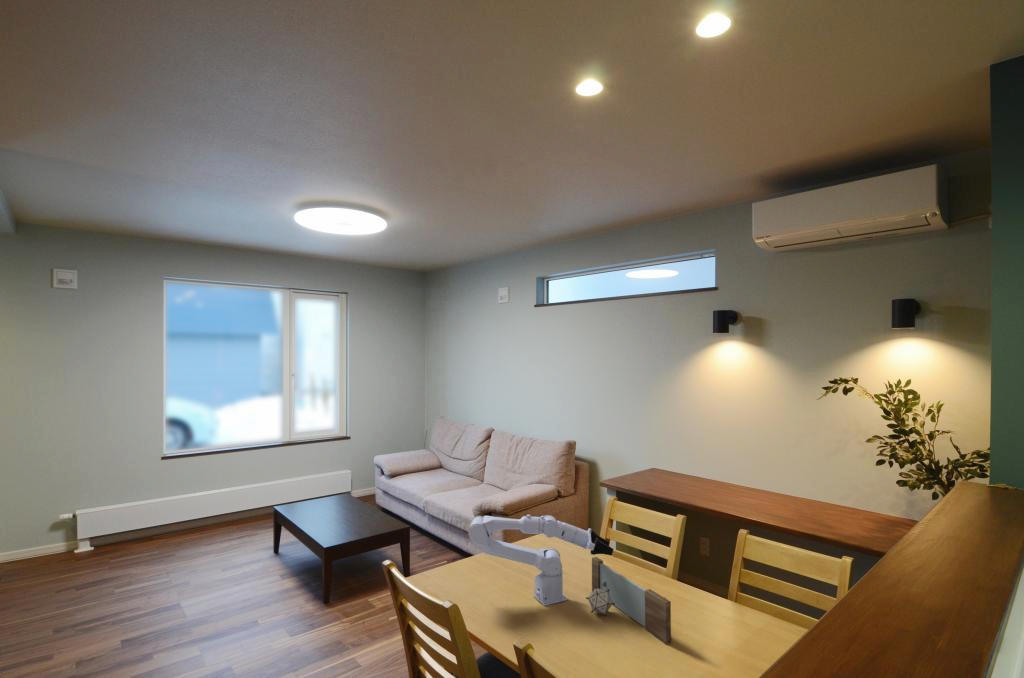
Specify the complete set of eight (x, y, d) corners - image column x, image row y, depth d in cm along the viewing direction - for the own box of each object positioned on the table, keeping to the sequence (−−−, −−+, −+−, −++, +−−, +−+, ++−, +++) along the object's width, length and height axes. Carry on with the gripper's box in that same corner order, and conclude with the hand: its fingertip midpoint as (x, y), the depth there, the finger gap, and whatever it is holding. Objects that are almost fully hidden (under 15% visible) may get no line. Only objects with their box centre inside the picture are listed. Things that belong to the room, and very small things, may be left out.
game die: (600, 627, 166) (593, 610, 161) (586, 607, 173) (578, 590, 169) (622, 611, 168) (615, 593, 164) (607, 591, 176) (600, 574, 171)
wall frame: (665, 644, 150) (665, 602, 151) (592, 591, 184) (591, 557, 184) (671, 642, 151) (670, 601, 151) (596, 590, 185) (596, 556, 185)
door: (643, 628, 159) (643, 592, 159) (598, 595, 180) (597, 564, 180) (648, 626, 159) (647, 591, 160) (602, 594, 181) (602, 563, 181)
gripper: (580, 529, 173) (618, 543, 172) (574, 518, 187) (609, 531, 187) (573, 550, 172) (611, 564, 172) (568, 537, 186) (603, 550, 186)
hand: (610, 548), depth 179 cm, fingers open, 7 cm apart
